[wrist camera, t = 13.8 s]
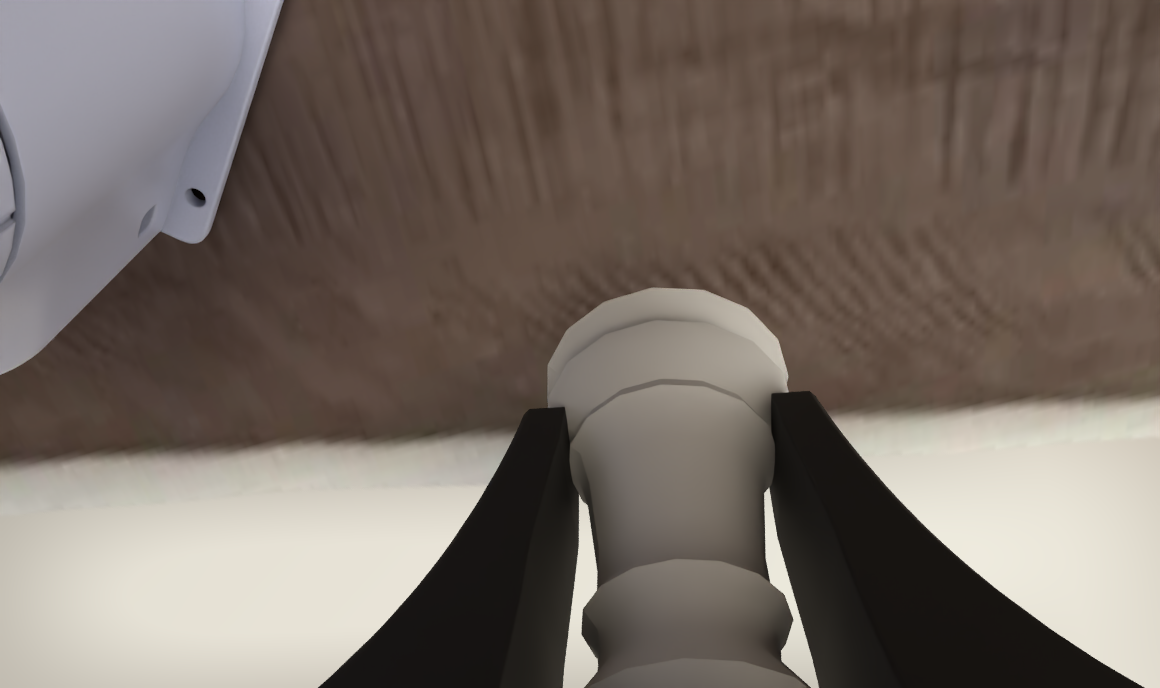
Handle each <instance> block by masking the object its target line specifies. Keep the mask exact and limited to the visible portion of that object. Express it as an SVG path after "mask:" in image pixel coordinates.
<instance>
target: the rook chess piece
mask: <svg viewBox="0 0 1160 688" xmlns="http://www.w3.org/2000/svg"><path fill="white" fill-rule="evenodd" d="M787 380H788V373H787V369H786V366H785V362H784V359H783V355H782V352H781V348H780V345H779V341H778V339H777V338H776V337H775V336H774V335H773V334H772V333H771V332H770V331H769V330H768V328H767V327H766V326H765V325H764V324H763V323H762V322H761V321H760V320H759V319H758V318H757V317H756V316H755V315H754V314H753V313H752V312H751V311H750V310H749V309H748V308H746V307H743V306H741V305H739V304H736V303H734V302H732V301H729V300H727V299H724V298H722V297H720V296H717V295H715V294H712V293H710V292H708V291H705V290H694V289H673V288H649V289H646V290H642V291H639V292H636V293H632V294H629V295H626V296H622V297H619V298H615V299H612V300H609V301H605V302H603V303H602V304H600V305H599V306H598V307H596V308H595V309H594V310H592V311H591V312H590V313H588V314H587V315H586V316H584V317H583V318H582V319H581V320H579V321H578V322H577V323H575V324H574V325H573V326H571V327H570V328H569V329H567V331H566V333H565V334H564V336H563V338H562V340H561V342H560V344H559V345H558V347H557V349H556V351H555V353H554V354H553V356H552V358H551V360H550V362H549V364H548V387H547V402H548V408H554V407H565V411H566V417H567V423H568V432H569V440H570V459H569V462H570V469H571V476H572V480H573V484H574V485H575V487H576V489H577V491H578V493H579V495H580V497H581V499H582V500H583V502H584V503H586V504H587V505H588V509H589V515H590V522H591V529H592V536H593V543H594V550H595V557H596V563H597V571H598V577H597V578H598V580H597V584H598V585H597V591H596V593H595V594H594V596H593V597H592V598H591V599H590V601H589V602H588V603H587V605H586V606H585V607H584V609H583V616H582V636H583V637H584V639H585V641H586V642H587V644H588V645H589V647H590V649H591V650H592V652H593V654H594V655H595V657H596V658H598V672H597V673H596V674H595V676H594V677H593V678H592V679H591V680H590V681H589V683H588V684H587V685H586V686H585V687H584V688H811V687H810V686H808V685H807V684H806V683H805V682H804V681H803V680H802V679H801V678H799V677H798V676H797V675H796V674H795V673H794V672H793V671H792V670H790V669H789V668H788V667H787V666H786V665H785V664H784V663H783V662H782V661H781V650H782V648H783V647H784V646H785V644H786V641H787V638H788V635H789V632H790V629H791V625H792V622H793V617H792V615H791V612H790V609H789V606H788V603H787V601H786V598H785V595H784V594H783V593H781V592H780V591H779V590H778V589H777V588H775V587H774V586H773V585H772V584H771V583H770V579H769V574H768V569H767V564H766V559H765V516H764V492H765V491H766V490H767V489H768V488H769V487H770V486H771V484H772V480H773V476H774V465H775V443H774V439H773V436H772V433H771V394H772V393H787V392H789V391H788V388H787Z"/></svg>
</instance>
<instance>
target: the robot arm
mask: <svg viewBox="0 0 1160 688" xmlns="http://www.w3.org/2000/svg"><path fill="white" fill-rule="evenodd" d="M283 1H284V0H0V375H1V374H3V373H6V372H8V371H10V370H12V369H14V368H16V367H18V366H20V365H22V364H23V363H25V362H26V361H28V360H29V359H31V358H32V357H34V356H35V355H36V354H37V353H39V352H40V351H41V350H42V349H43V348H44V347H45V346H46V345H47V344H48V343H49V342H50V341H51V340H52V339H53V338H54V337H55V336H56V335H57V334H58V333H59V332H60V331H61V330H62V329H63V328H64V327H65V326H66V325H67V324H68V323H69V322H70V321H71V320H72V319H73V318H74V317H75V316H76V315H77V314H78V313H79V312H80V311H81V310H82V309H83V308H84V307H85V306H86V305H87V304H88V303H89V302H90V301H91V300H92V299H93V298H94V297H95V296H96V295H97V294H98V293H99V292H100V291H101V290H102V289H103V288H104V287H105V286H106V285H107V284H108V283H109V282H110V281H111V280H112V279H113V278H114V277H115V276H116V275H117V274H118V273H119V272H120V271H121V270H122V269H123V268H124V267H125V266H126V265H127V264H128V263H129V262H130V261H131V260H132V259H133V258H134V257H135V256H136V255H137V254H138V253H139V252H140V251H141V250H142V249H143V248H144V247H145V246H146V245H147V244H148V243H149V242H150V241H151V240H152V239H153V238H154V237H155V236H156V235H157V234H158V233H159V232H160V231H161V232H163V233H165V234H167V235H170V236H172V237H174V238H176V239H178V240H181V241H183V242H186V243H190V244H192V243H199V242H201V241H203V240H204V238H205V237H206V236H207V235H208V233H209V232H210V230H211V227H212V224H213V221H214V218H215V215H216V212H217V209H218V205H219V202H220V199H221V196H222V193H223V190H224V187H225V183H226V180H227V177H228V174H229V171H230V168H231V165H232V161H233V158H234V155H235V152H236V149H237V146H238V143H239V140H240V136H241V133H242V130H243V127H244V124H245V121H246V118H247V114H248V111H249V108H250V105H251V102H252V99H253V96H254V92H255V89H256V86H257V83H258V80H259V77H260V74H261V70H262V67H263V64H264V61H265V58H266V55H267V52H268V48H269V45H270V42H271V39H272V36H273V33H274V30H275V26H276V23H277V20H278V17H279V14H280V11H281V8H282V5H283ZM192 188H194V189H198V190H199V191H201V192H202V193H203V195H204V196H205V199H206V200H205V201H204V200H200V199H198V198H197V197H195V196H194V194H193V192H192ZM771 433H772V436H773V439H774V443H775V465H774V476H773V480H772V484H771V486H770V487H769V488H770V494H771V500H772V507H773V513H774V518H775V525H776V530H777V536H778V540H779V544H780V547H781V551H782V555H783V558H784V562H785V565H786V568H787V572H788V576H789V579H790V583H791V586H792V589H793V593H794V597H795V600H796V603H797V607H798V610H799V614H800V617H801V621H802V624H803V628H804V631H805V635H806V638H807V641H808V645H809V649H810V652H811V656H812V659H813V663H814V667H815V672H816V676H817V680H818V684H819V688H1144V687H1142V686H1141V685H1139V684H1137V683H1135V682H1134V681H1132V680H1130V679H1128V678H1127V677H1125V676H1123V675H1122V674H1120V673H1118V672H1116V671H1115V670H1113V669H1111V668H1110V667H1108V666H1106V665H1105V664H1103V663H1101V662H1100V661H1098V660H1097V659H1095V658H1093V657H1092V656H1090V655H1089V654H1087V653H1086V652H1084V651H1083V650H1081V649H1080V648H1078V647H1077V646H1075V645H1074V644H1072V643H1070V642H1069V641H1068V640H1066V639H1065V638H1063V637H1061V636H1060V635H1058V634H1057V633H1055V632H1054V631H1052V630H1051V629H1049V628H1048V627H1047V626H1045V625H1044V624H1043V623H1041V622H1040V621H1039V620H1037V619H1036V618H1035V617H1033V616H1032V615H1031V614H1029V613H1028V612H1027V611H1025V610H1024V609H1022V608H1021V607H1020V606H1018V605H1017V604H1016V603H1014V602H1013V601H1011V600H1010V599H1009V598H1008V597H1006V596H1005V595H1003V594H1002V593H1001V592H999V591H998V590H997V589H996V588H994V587H993V586H992V585H991V584H990V583H988V582H987V581H986V580H985V579H983V578H982V577H981V576H980V575H979V574H977V573H976V572H975V571H974V570H973V569H971V568H970V567H969V566H968V565H967V564H965V563H964V562H963V561H962V560H961V559H960V558H959V557H958V556H956V555H955V554H954V553H953V552H952V551H951V550H950V549H949V548H947V547H946V546H945V545H944V544H943V543H942V542H941V541H940V540H939V539H938V538H936V536H934V535H933V534H932V533H931V532H930V531H929V530H928V529H927V528H926V527H925V526H924V525H923V524H922V523H921V522H920V521H919V520H918V519H917V518H916V517H915V516H914V515H913V514H912V513H911V512H910V511H909V510H908V509H907V508H906V507H905V506H904V505H903V504H902V503H901V502H900V501H899V499H897V497H896V496H895V495H894V494H893V493H892V492H891V491H890V490H889V489H888V487H886V485H885V484H884V483H883V482H882V481H881V480H880V478H879V477H878V476H877V475H876V474H875V473H874V471H873V470H872V469H871V468H870V467H869V466H868V465H867V463H866V462H865V461H864V460H863V459H862V458H861V456H860V455H859V454H858V453H857V451H856V450H855V449H854V448H853V447H852V445H851V444H850V443H849V441H848V440H847V439H846V438H845V436H844V435H843V434H842V432H841V431H840V430H839V429H838V427H837V426H836V425H835V423H834V422H833V420H832V419H831V418H830V416H829V415H828V414H827V412H826V411H825V409H824V408H823V406H822V405H821V404H820V402H819V401H818V399H817V398H816V396H815V395H813V394H812V393H811V392H810V391H802V392H787V393H772V394H771ZM569 459H570V440H569V432H568V423H567V417H566V411H565V407H554V408H539V409H529V410H528V411H527V412H526V413H525V414H524V416H523V418H522V420H521V423H520V425H519V427H518V429H517V432H516V434H515V436H514V438H513V440H512V442H511V444H510V446H509V448H508V450H507V452H506V454H505V456H504V458H503V459H502V461H501V463H500V465H499V467H498V469H497V471H496V472H495V474H494V476H493V477H492V479H491V481H490V483H489V484H488V486H487V488H486V489H485V491H484V493H483V495H482V497H481V498H480V500H479V502H478V503H477V505H476V506H475V508H474V509H473V511H472V512H471V514H470V515H469V517H468V518H467V520H466V521H465V523H464V524H463V526H462V527H461V529H460V530H459V532H458V533H457V535H456V536H455V538H454V539H453V541H452V542H451V544H450V545H449V547H448V548H447V549H446V550H445V552H444V553H443V555H442V556H441V557H440V559H439V560H438V561H437V563H436V564H435V565H434V567H433V568H432V569H431V570H430V571H429V573H428V574H427V575H426V577H425V578H424V579H423V580H422V581H421V583H420V584H419V585H418V586H417V588H416V589H415V590H414V591H413V592H412V593H411V595H410V596H409V597H408V598H407V599H406V600H405V601H404V603H403V604H402V605H401V606H400V607H399V608H398V609H397V610H396V612H395V613H394V614H393V615H392V616H391V617H390V618H389V619H388V621H387V622H386V623H385V624H384V625H383V626H382V627H381V628H380V629H379V630H378V631H377V632H376V633H375V634H374V636H372V637H371V638H370V639H369V640H368V641H367V642H366V643H365V644H364V645H363V646H362V647H361V648H360V649H359V650H358V651H357V652H356V653H355V654H354V655H353V656H351V658H349V659H348V660H347V661H346V662H345V663H344V664H343V665H342V666H341V667H340V668H339V669H338V670H337V671H336V672H335V673H334V674H333V675H332V676H331V677H330V678H329V679H327V680H326V681H325V682H324V683H323V684H322V685H321V686H319V687H318V688H563V675H564V663H565V656H566V647H567V639H568V631H569V622H570V614H571V606H572V598H573V589H574V581H575V573H576V564H577V555H578V545H579V544H578V543H579V538H578V537H579V493H578V491H577V489H576V487H575V485H574V484H573V480H572V476H571V469H570V462H569Z"/></svg>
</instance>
